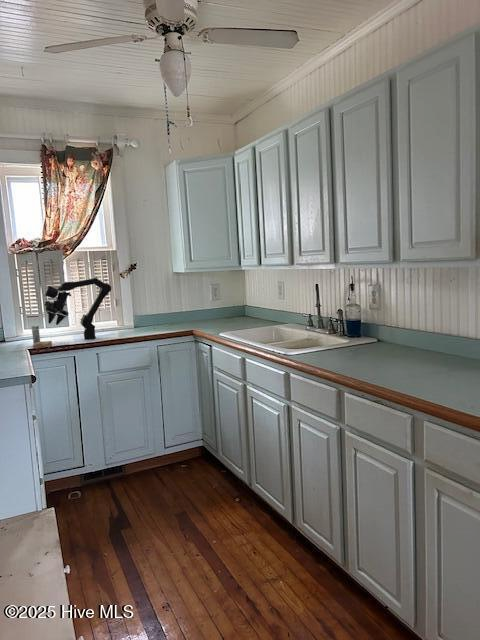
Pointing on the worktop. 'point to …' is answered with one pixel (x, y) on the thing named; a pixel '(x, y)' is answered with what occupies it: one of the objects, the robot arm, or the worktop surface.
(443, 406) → the worktop surface
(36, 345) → the step
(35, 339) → the column
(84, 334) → the robot arm
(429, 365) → the worktop surface
